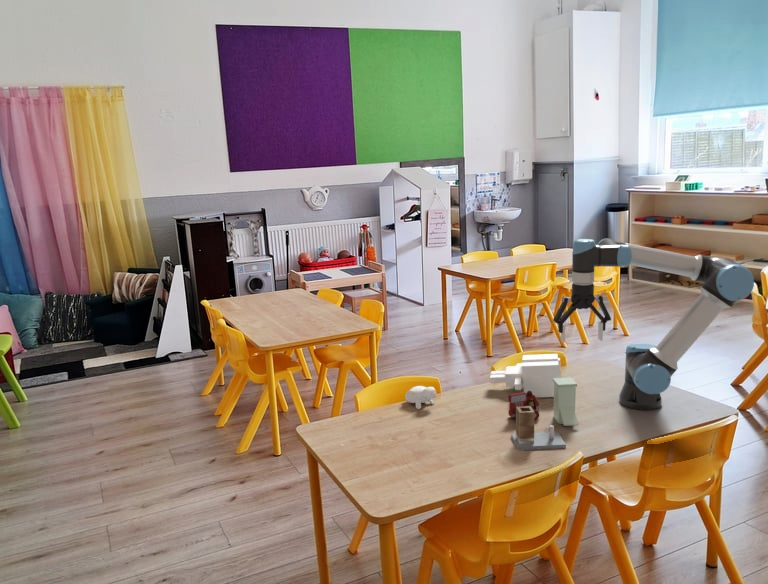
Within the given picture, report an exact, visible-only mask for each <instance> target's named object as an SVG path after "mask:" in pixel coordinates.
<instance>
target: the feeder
mask: <svg viewBox="0 0 768 584" xmlns="http://www.w3.org/2000/svg"><path fill="white" fill-rule="evenodd" d="M553 382H554V397H553V418H554V420H555V421H556V423H557V424H560V425H561V424H563V426H564V427H565V426H568V427H569V426H579V422H578V418H577V414H576V392H577V391H576V390H577V388H576V387H578V383H577V381H575V380H574V378H572V376H571V377H561V378H553Z"/></svg>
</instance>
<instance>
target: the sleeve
mask: <svg viewBox="0 0 768 584" xmlns="http://www.w3.org/2000/svg"><path fill="white" fill-rule="evenodd" d="M534 418H535V412H534V410H533V409H532V407H531V406H525V407H516V417H515V421H516V422H515V434H516V438H517V440H518V442H519V443H534V433H535V421H534Z"/></svg>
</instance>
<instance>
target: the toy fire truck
mask: <svg viewBox="0 0 768 584" xmlns="http://www.w3.org/2000/svg"><path fill="white" fill-rule="evenodd" d="M507 397H508V398H507V401H508V402H509V405H508V407H509V408H508V411H507V414H508V416H509V417H511V418H515V419H516V407H525V406H531V407H532V409H533V410H534V412H535V418H534V422H535V421H538V419H539V418H540V403H539V401H538V399H537V397H535V395H533V394H532V391H527V394H526V393H525V392H524V391H521V392H516V393H511V394H509V395H508V396H507Z"/></svg>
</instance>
